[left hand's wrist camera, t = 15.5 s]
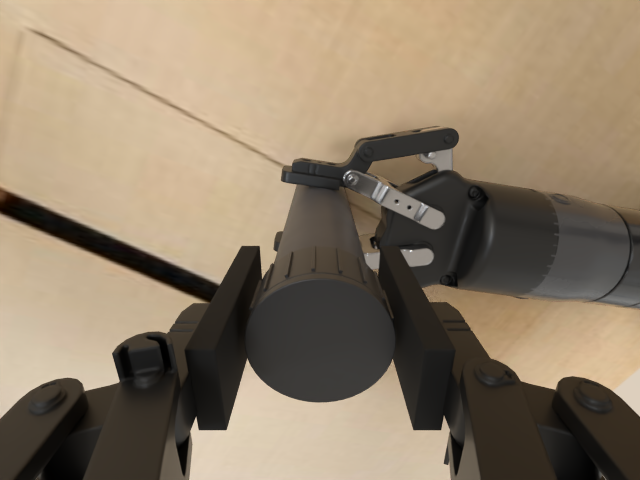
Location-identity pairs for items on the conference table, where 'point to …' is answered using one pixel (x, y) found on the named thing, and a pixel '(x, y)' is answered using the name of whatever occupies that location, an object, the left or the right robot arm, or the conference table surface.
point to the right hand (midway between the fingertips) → (280, 207)
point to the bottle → (319, 222)
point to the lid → (320, 326)
